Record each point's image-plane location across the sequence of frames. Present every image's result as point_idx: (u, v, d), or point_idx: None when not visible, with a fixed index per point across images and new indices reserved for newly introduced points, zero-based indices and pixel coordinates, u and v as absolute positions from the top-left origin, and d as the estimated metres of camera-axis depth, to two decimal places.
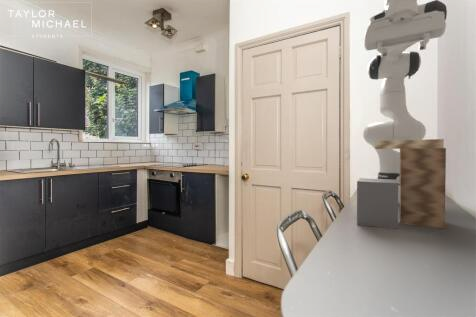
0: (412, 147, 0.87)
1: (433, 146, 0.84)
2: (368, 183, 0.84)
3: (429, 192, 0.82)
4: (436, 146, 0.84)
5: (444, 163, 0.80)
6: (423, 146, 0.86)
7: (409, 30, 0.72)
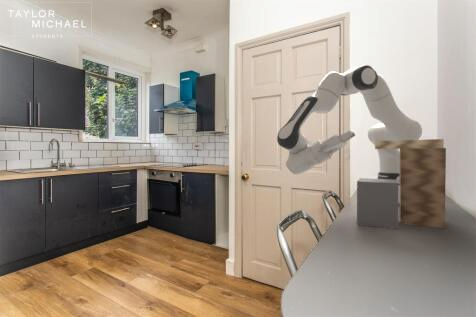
0: (412, 147, 0.87)
1: (433, 146, 0.84)
2: (368, 183, 0.84)
3: (429, 192, 0.82)
4: (436, 146, 0.84)
5: (444, 163, 0.80)
6: (423, 146, 0.86)
7: (341, 144, 0.99)
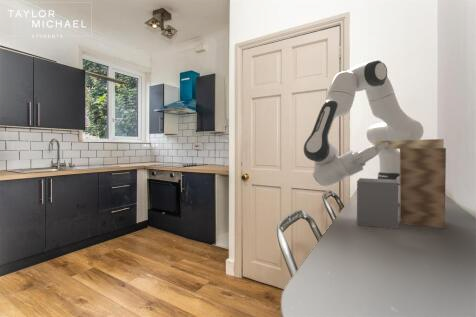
0: (412, 147, 0.87)
1: (433, 146, 0.84)
2: (368, 183, 0.84)
3: (429, 192, 0.82)
4: (436, 146, 0.84)
5: (444, 163, 0.80)
6: (423, 146, 0.86)
7: None
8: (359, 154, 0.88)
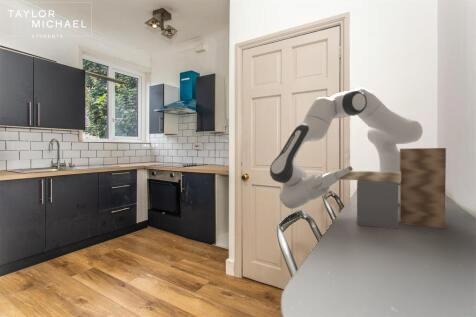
0: (371, 179, 0.87)
1: (391, 179, 0.84)
2: (368, 183, 0.84)
3: (429, 192, 0.82)
4: (394, 180, 0.83)
5: (444, 163, 0.80)
6: (382, 179, 0.85)
7: None
8: (319, 180, 0.88)
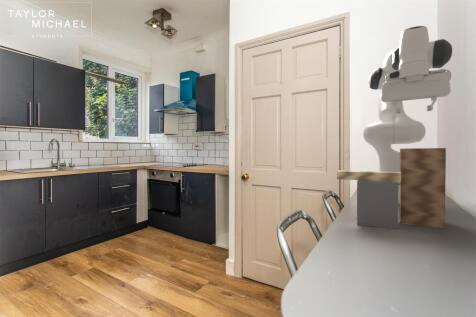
0: (371, 179, 0.87)
1: (391, 179, 0.84)
2: (368, 183, 0.84)
3: (429, 192, 0.82)
4: (394, 180, 0.83)
5: (444, 163, 0.80)
6: (382, 179, 0.85)
7: (420, 94, 0.87)
8: None
